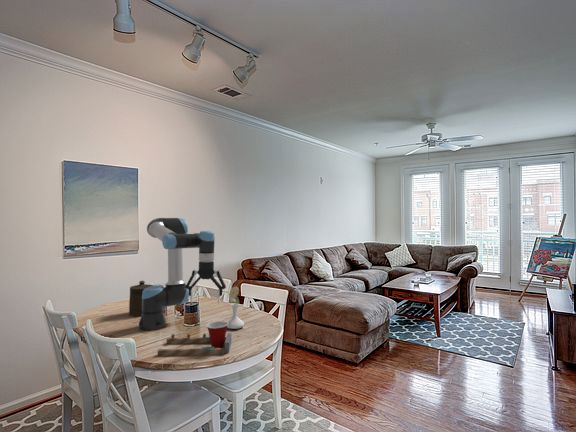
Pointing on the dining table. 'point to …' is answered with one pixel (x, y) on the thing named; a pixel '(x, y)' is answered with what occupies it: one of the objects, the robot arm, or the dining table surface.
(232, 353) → the dining table surface
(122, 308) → the dining table surface
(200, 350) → the comb channel
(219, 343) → the plastic cup
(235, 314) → the flower in vase
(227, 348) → the end stop
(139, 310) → the wooden container
